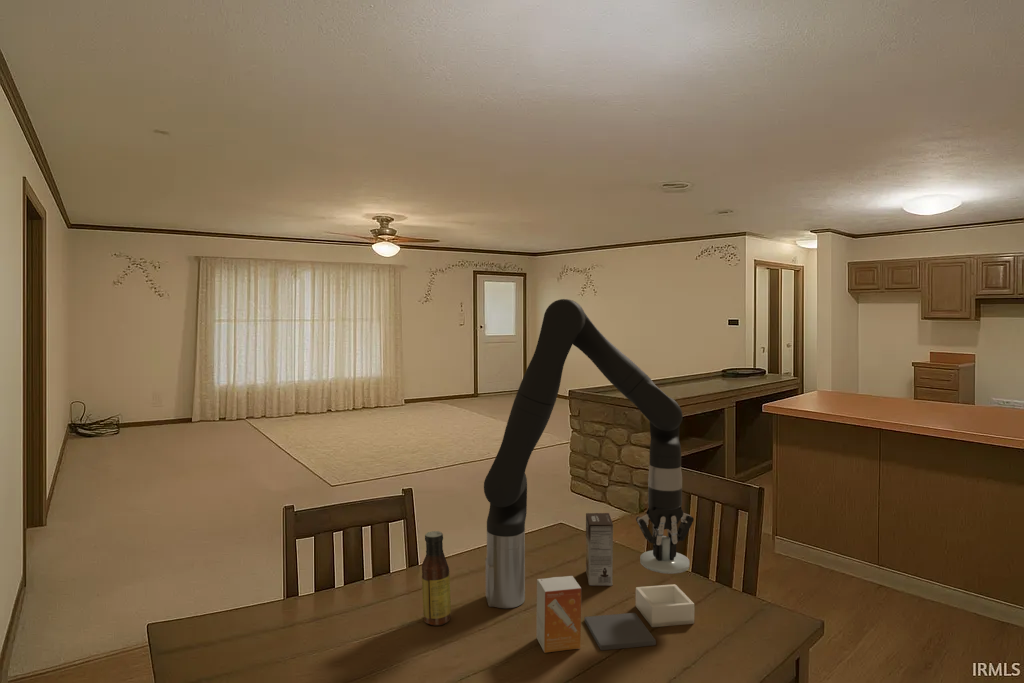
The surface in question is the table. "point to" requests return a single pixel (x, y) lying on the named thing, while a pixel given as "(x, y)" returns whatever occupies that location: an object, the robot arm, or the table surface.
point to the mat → (619, 631)
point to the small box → (558, 613)
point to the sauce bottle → (435, 581)
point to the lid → (665, 560)
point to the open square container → (664, 605)
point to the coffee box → (599, 548)
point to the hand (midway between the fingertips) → (664, 558)
